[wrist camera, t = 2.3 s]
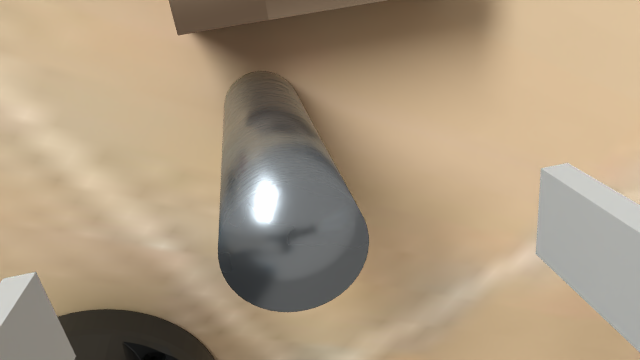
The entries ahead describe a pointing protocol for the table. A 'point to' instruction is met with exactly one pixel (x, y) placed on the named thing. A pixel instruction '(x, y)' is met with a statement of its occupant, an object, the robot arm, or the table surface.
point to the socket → (245, 11)
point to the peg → (283, 203)
